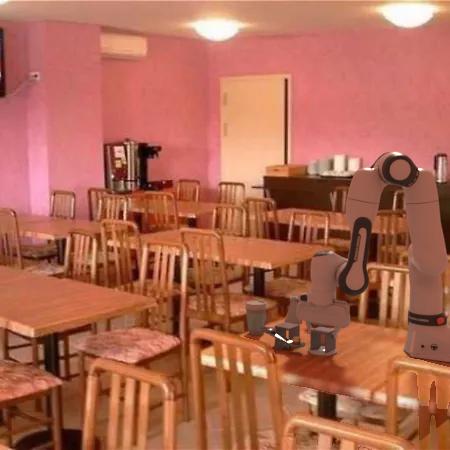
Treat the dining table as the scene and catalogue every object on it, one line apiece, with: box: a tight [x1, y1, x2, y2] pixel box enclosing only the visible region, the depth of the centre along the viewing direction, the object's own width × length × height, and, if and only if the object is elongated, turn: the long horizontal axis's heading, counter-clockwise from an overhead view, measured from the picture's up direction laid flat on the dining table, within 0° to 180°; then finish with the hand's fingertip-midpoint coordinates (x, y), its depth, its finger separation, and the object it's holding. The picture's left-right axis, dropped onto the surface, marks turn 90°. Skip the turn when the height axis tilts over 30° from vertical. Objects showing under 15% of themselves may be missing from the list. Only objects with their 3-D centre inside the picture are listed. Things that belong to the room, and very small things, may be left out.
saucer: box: [307, 345, 338, 357], centre depth 269 cm, size 10×10×1 cm
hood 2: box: [309, 326, 337, 353], centre depth 269 cm, size 6×6×7 cm
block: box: [321, 334, 325, 345], centre depth 279 cm, size 4×4×4 cm
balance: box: [260, 326, 306, 352], centre depth 273 cm, size 18×6×6 cm, turn 51°
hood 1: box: [274, 321, 301, 349], centre depth 278 cm, size 6×6×7 cm
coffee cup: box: [244, 299, 269, 336], centre depth 292 cm, size 8×9×12 cm
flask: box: [284, 296, 303, 325], centre depth 308 cm, size 7×7×10 cm
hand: (322, 336), depth 269 cm, fingers open, 8 cm apart
